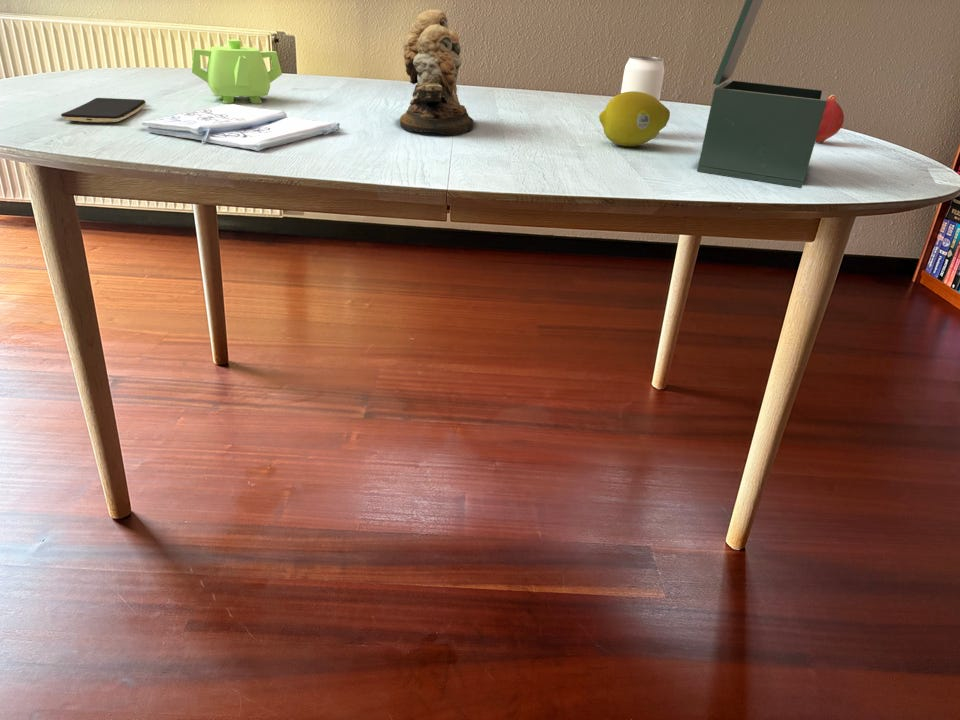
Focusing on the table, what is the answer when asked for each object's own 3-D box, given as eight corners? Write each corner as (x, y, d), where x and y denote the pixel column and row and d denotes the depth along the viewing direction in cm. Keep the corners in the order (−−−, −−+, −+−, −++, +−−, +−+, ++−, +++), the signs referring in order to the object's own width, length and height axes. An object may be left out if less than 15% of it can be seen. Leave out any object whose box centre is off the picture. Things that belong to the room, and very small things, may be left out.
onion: (814, 146, 117) (829, 96, 113) (793, 139, 122) (806, 91, 118) (843, 146, 119) (858, 98, 115) (821, 139, 123) (835, 92, 120)
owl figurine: (470, 140, 103) (476, 14, 95) (392, 134, 103) (392, 8, 95) (475, 120, 119) (481, 10, 111) (407, 115, 119) (408, 5, 111)
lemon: (597, 148, 104) (605, 92, 100) (593, 138, 111) (600, 85, 107) (668, 154, 103) (679, 98, 100) (659, 143, 110) (669, 91, 106)
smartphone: (59, 114, 95) (96, 97, 108) (61, 122, 95) (97, 105, 108) (116, 116, 96) (146, 99, 109) (117, 124, 96) (147, 107, 109)
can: (608, 130, 118) (619, 54, 112) (640, 130, 120) (653, 56, 114) (626, 137, 113) (639, 59, 107) (660, 137, 115) (674, 60, 109)
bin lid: (776, -34, 92) (738, -45, 93) (768, -40, 81) (724, -52, 82) (731, 77, 100) (696, 65, 101) (718, 85, 89) (679, 72, 90)
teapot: (191, 100, 118) (182, 37, 114) (233, 92, 128) (227, 35, 123) (248, 108, 115) (242, 44, 111) (287, 100, 125) (283, 41, 120)
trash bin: (805, 168, 100) (828, 90, 95) (801, 187, 89) (827, 100, 84) (711, 154, 105) (728, 79, 100) (696, 171, 94) (714, 88, 89)
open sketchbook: (238, 115, 109) (236, 100, 108) (344, 132, 102) (343, 117, 101) (140, 132, 93) (137, 116, 92) (256, 154, 87) (255, 137, 86)
